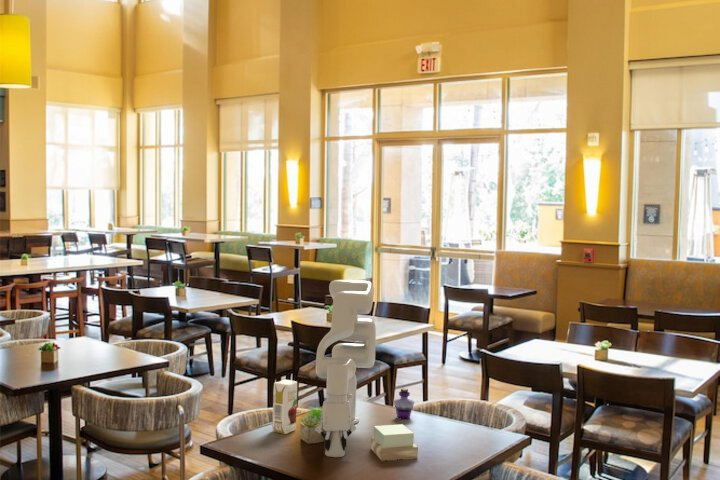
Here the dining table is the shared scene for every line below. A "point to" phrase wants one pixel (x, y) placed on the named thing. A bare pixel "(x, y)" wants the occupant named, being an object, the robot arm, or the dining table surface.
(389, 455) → the birch base block
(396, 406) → the potion bottle
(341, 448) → the flask
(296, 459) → the dining table surface
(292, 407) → the juice carton
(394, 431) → the sage top block
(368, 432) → the dining table surface
